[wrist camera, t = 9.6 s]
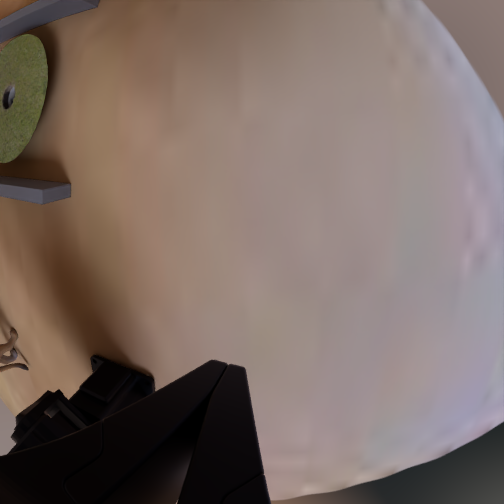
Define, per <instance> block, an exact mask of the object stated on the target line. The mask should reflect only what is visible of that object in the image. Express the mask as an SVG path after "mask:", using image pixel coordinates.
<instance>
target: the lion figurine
mask: <svg viewBox="0 0 504 504" xmlns="http://www.w3.org/2000/svg"><path fill="white" fill-rule="evenodd" d="M10 335H11V339H10V340H9V342H8V343H6V344H0V363H3V364H8V363H10V362H13V361H15V360H16V358H17V353H16V351H15V350H14V349H12V348H13V346H14V344H15V342H16V340H17V338H18V336H17V333H16V331H15V330H11V331H10ZM7 351H10V353H11V355H10V356H5V355H3V354H4V353H5V352H7ZM14 367H19V368H21V369H24V370H29V369H28V367H27V366H26V365H25V364H22V363H14V364H9V365H5V366H1V367H0V372H2V371H5V370H8V369H11V368H14Z"/></svg>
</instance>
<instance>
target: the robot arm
mask: <svg viewBox="0 0 504 504" xmlns="http://www.w3.org/2000/svg"><path fill="white" fill-rule="evenodd" d="M90 360H91V365H92V370H93V373H92V374H91V375H90V376H89V377H88V378H87V379H86V380H85V381H84V382H83V383H82V384H81V385H80V387H79V388H80V389H79V390H78V391H77V392H76V393H75V394H74V395H73V396H72V397H71V398H70V399H69V400H68V399H67V398H66V397H65V396H64V395H63V393H62V392H61V391H60V389H58V390H57V391H56V392H55V393H54V392H51V391H49V390H48V391H47V392H45V393H44V394H43V395H42V396H41V397H40V398H39V399H38V400H37V401H36V402H34V403H33V404H32V405H30V406H29V407H27V408H26V409H25V410H23V411H22V412H20V413H19V414H18V415H17V416H16V427H15V429H14V430H15V431H14V433H13V434H12V436H11V438H12V439H13V440H14V441H15V443H16V445H15V446H14V447H13V448H12V449H11V451H10V452H9V453H8V454H7V455H3V456H0V504H176V502H177V500H178V502H177V504H271V501H270V497H269V493H268V489H267V484H266V479H265V475H263V474H264V469H263V464H262V459H261V453H260V448H259V442H258V437H257V431H256V426H255V420H254V415H253V409H252V403H251V397H250V392H249V386H248V380H247V374H246V369H245V368H244V367H242V366H238V365H233V364H229V365H228V364H227V363H225V362H221V361H217V360H210V361H208V362H206V363H205V364H203V365H201V366H200V367H198V368H196V369H194V370H193V371H191V372H189V373H188V374H186V375H184V376H182V377H181V378H179V379H177V380H175V381H174V382H172V383H170V384H168V385H166V386H165V387H163V388H161V389H159V390H157V391H156V392H155V384H154V380H153V379H152V378H151V377H150V376H147V375H144V374H142V373H139V372H137V371H134V370H131V369H129V368H126V367H124V366H121V365H119V364H117V363H114V362H112V361H109V360H107V359H105V358H102V357H100V356H98V355H93V356H92V357H91V358H90Z"/></svg>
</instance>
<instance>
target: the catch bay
mask: <svg viewBox="0 0 504 504" xmlns="http://www.w3.org/2000/svg"><path fill="white" fill-rule="evenodd" d="M98 3H99V0H38V1H36V2H34V3H32V4H30V5H28V6H26V7H24V8H22V9H20V10H18V11H16V12H14V13H12V14H11V15H9V16H7V17H5V18H3V19H2V20H0V43H2V42H4V41H6V40H8V39H10V38H13V37H15V36H17V35H19V34H22V33H24V32H26V31H29V30H31V29H33V28H36V27H38V26H41V25H44V24H46V23H49V22H52V21H54V20H57V19H60V18H63V17H66V16H69V15H72V14H75V13H79V12H82V11H85V10H89V9H92V8H96V7H98ZM0 196H1V197H7V198H12V199H17V200H22V201H27V202H32V203H38V204H46V203H50V202H53V201H57V200H61V199H65V198H69V197H71V184H68V183H60V182H52V181H43V180H35V179H26V178H17V177H7V176H0Z"/></svg>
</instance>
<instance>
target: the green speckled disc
mask: <svg viewBox="0 0 504 504" xmlns="http://www.w3.org/2000/svg"><path fill="white" fill-rule="evenodd" d="M47 69H48V66H47V60H46V54H45V50H44V47H43V44H42V43H41V40H39V39H38V38H37V37H36V36H34V35H30V34H25V35H21V36H19V37H17V38H15V39H14V40H12V41H11V42H10V43H9V44H7V45H6V46H5V48H4V49H3V50H2V51H1V53H0V163H8V162H10V161H12V160H14V159H15V158H16V157H17V156H18V155H19V154H20V153H21V152H22V151H23V149H24V148H25V147H26V145H27V143H29V140H30V139H31V136H32V134H33V132H34V130H35V129H36V125H37V122H38V120H39V117H40V114H41V110H42V107H43V104H44V99H45V95H46V89H47V80H48V75H47V73H48V70H47Z"/></svg>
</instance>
